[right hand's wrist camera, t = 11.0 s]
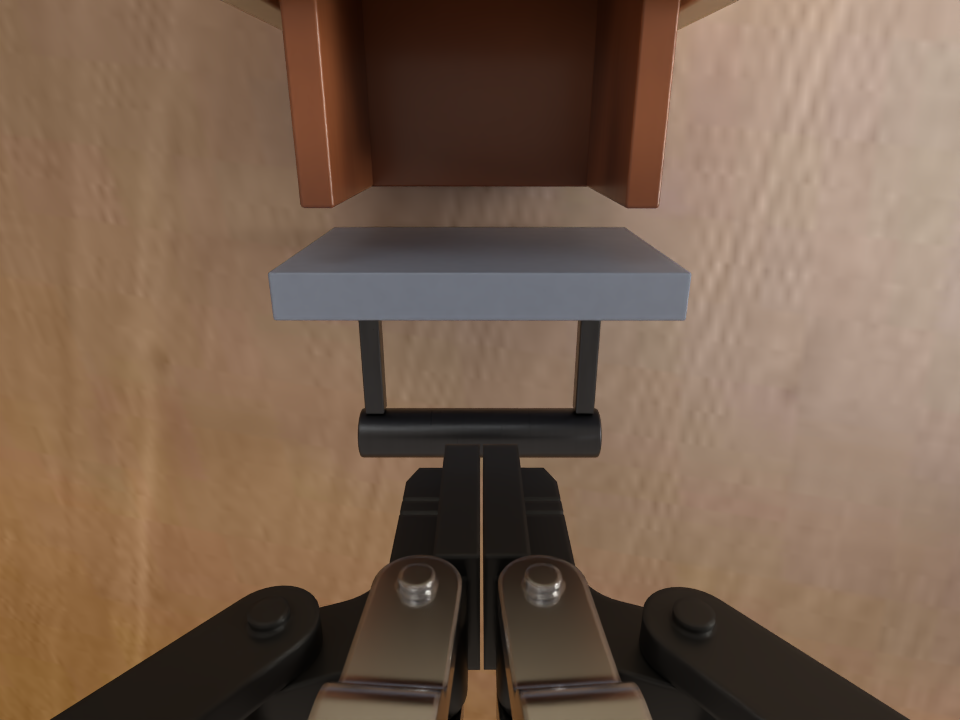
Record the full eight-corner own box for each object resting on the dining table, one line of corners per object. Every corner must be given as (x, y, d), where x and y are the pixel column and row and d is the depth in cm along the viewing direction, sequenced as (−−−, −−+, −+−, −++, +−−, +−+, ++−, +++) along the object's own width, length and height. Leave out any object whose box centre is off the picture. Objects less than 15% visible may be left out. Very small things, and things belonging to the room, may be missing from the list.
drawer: (610, 404, 23) (661, 513, 17) (349, 404, 23) (297, 513, 17) (693, -567, 14) (876, -1160, 8) (266, -567, 14) (83, -1160, 8)
